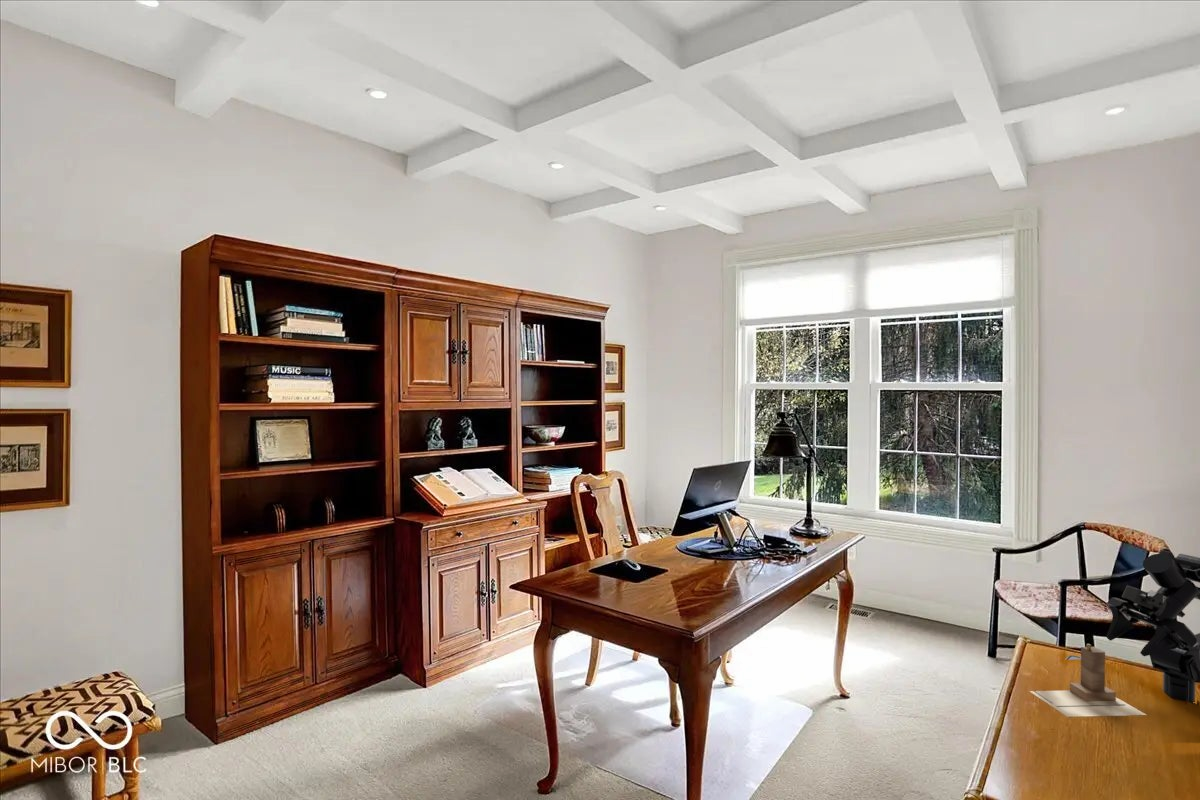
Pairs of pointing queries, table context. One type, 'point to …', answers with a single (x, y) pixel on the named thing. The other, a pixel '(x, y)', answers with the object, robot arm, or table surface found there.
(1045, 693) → the birch board
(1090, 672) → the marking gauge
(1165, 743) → the table surface
